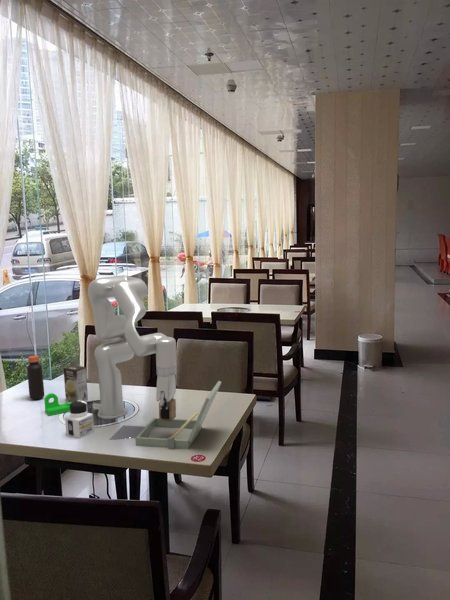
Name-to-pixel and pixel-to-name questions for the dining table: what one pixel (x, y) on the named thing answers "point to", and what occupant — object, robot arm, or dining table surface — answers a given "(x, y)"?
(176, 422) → the case
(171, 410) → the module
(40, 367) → the bottle
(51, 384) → the dining table surface
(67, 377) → the coffee box
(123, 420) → the dining table surface
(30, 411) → the dining table surface
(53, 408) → the mechanical part
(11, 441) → the dining table surface
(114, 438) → the mat
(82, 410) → the container
